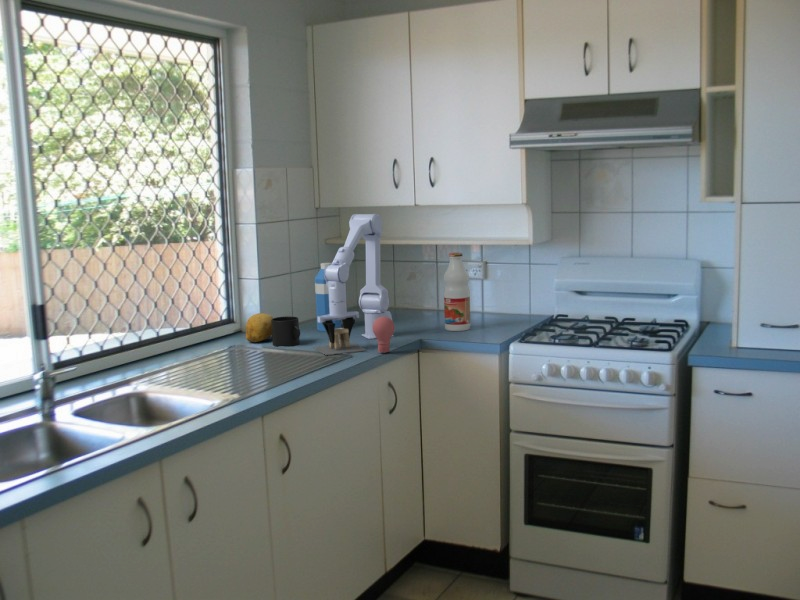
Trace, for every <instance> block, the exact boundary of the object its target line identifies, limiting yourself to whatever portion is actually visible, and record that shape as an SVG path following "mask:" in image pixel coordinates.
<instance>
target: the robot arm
mask: <svg viewBox="0 0 800 600" xmlns="http://www.w3.org/2000/svg"><path fill="white" fill-rule="evenodd" d="M348 224H349V225H348V226H349V231H348V235H347V237H346V240H345V242H344V244H343V246H340V247H339V248H338V249H337V252H336V254H335V257H334V258H333V261H332V262H331V265H329V266H328V267H327V268H326V269H325V274H324V278H325V280H326V284H327V287H328V290H329V310H330V314H327V315H323V316H317V315H316V320H317V319H318V322H319V323H322V324H323V326H324V327H325V329H326V331H325V332H326V334H327V337H328V341H329V340H330V342H331V343H334V338H335V337H334V330H335V323H333V322H332V321H335V320H341V323H342V326H343V327H342V328H345V329H348V330H349V339H350V337H351V332H352V330H353V328H354V324H355V322H356V319H358V318H360V312H359V311H357V310H356V311H348V310H347V306H348V305H347V287H346V283H347V281H348V279H349V278H350V267H351V264H352V262H353V261H354V259H355V252H354V250H355V249H356V247H357V245H358V244H359V242H360V240H361V239H363V240H364V241H365V285H364V286H363V287H362V288H361V289H359V290H360V291H359V298H358V306H359V309H360V310H361V311H362V313H364V331H365V332H364V333H362V334H361V337H364V338H365V339H367V340H373V339H377V338H376V336H375V334H374V332H373V323H374V321H375V320H376V319H377V318H379V317H388V318H390V319H391V320H392V321H393V317H392V313H391V311H389V310H388V309H389V307H390V297H389V290H388V288H386V287H385V286H384V285H382V284H381V282H382V281H381V276H382V275H381V238H382V237H383V219H382V218H381V216H380V215H379V214H378V213H363V214H362V213H361V214H359V213H354V214H352V215H351V216H350V219H349V222H348ZM335 318H336V319H335ZM392 337H394V334H393V335H392Z"/></svg>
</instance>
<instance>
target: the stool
mask: <svg viewBox="0 0 800 600" xmlns="http://www.w3.org/2000/svg"><path fill="white" fill-rule="evenodd" d="M334 337H335V338H334V343H331V342H330V340H329V339H328V341H329V344H328V345H330V348H333V347H335V349H339V344H340V346H345V347H350V344H349V343H350V338H349V330H348V329H345V328H344V327H341V328H337V329H335V330H334Z"/></svg>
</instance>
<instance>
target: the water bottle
mask: <svg viewBox="0 0 800 600" xmlns="http://www.w3.org/2000/svg"><path fill="white" fill-rule="evenodd" d="M331 264H332V262H322V263H320V270H318V273H317V274H316V275H315V277H314V290H315V292H314V293H315V309H316V311H315V312H316V317H317V316H323V315H327V314H330V310H329V290H328V287H327V284H326V280H325V278H324V274H325V269H326V268H327V267H328V266H329V265H331ZM335 319H336V318H335ZM332 322H333V323H335V329H337V328H342V320H335V321H332ZM316 328H317V331H319V332H327V331H326V329H325V327H324V326H323V324H322V323H319V322H318V319H317V318H316Z"/></svg>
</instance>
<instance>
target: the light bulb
mask: <svg viewBox="0 0 800 600" xmlns="http://www.w3.org/2000/svg"><path fill="white" fill-rule="evenodd" d="M395 329H396V328H395V323H394V321H393V319H392V320H391V319H390V318H388V317H379V318H377V319H376V320H375V321H374V323H373V332H374V334H375V336H376V338H375V339H377V344H378V345H377V350H378V353H381V354H386V353H388V352H390V347H391V346H390V344H391V340H392V337H393V336H394V332H395ZM392 335H393V336H392Z"/></svg>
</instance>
